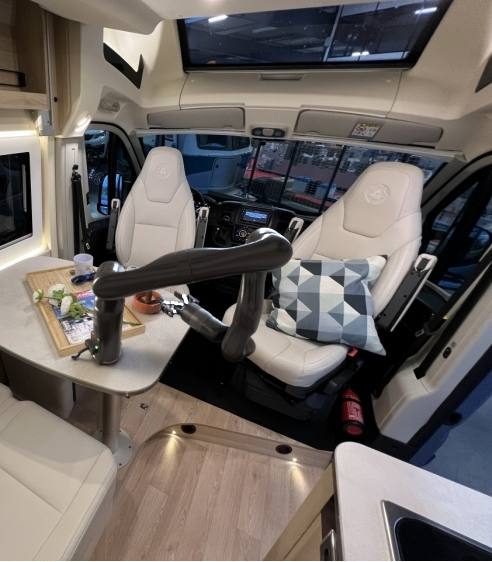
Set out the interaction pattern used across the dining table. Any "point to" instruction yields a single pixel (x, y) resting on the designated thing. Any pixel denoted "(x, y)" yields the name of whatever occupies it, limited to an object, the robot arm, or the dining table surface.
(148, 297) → the brown mallet
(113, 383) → the dining table surface
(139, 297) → the bowl
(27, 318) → the dining table surface
